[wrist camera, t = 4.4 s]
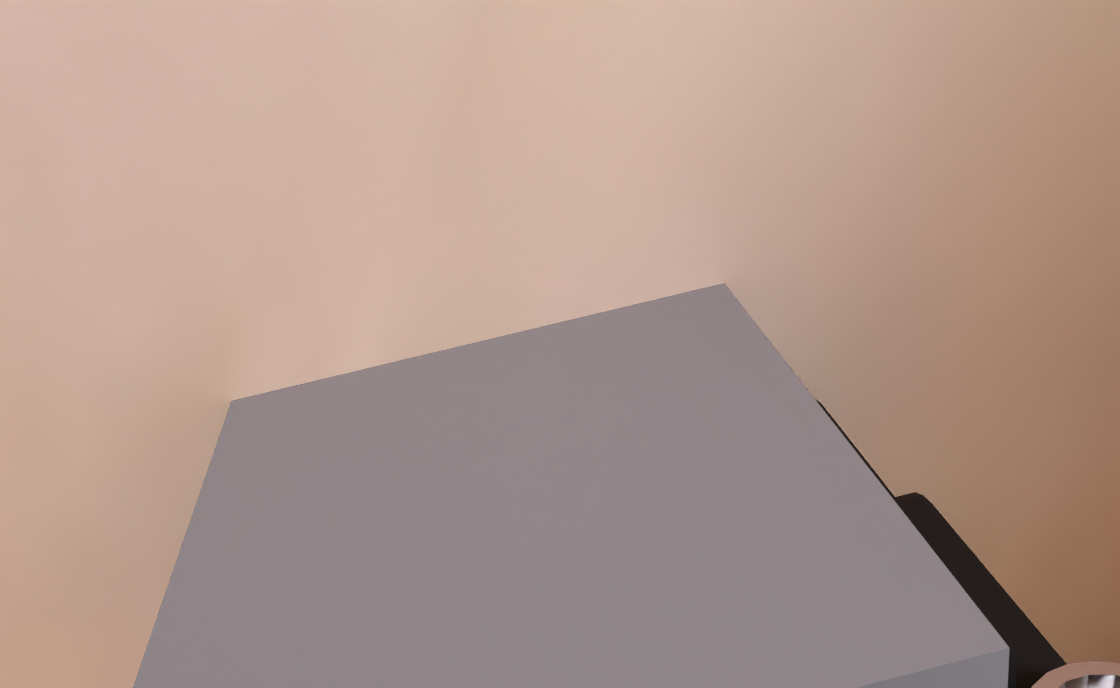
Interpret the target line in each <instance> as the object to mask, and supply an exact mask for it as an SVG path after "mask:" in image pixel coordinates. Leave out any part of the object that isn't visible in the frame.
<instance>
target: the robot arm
mask: <svg viewBox="0 0 1120 688" xmlns="http://www.w3.org/2000/svg"><path fill="white" fill-rule="evenodd" d="M816 401H817V402H818V404H819V405H820V406H821V407H822V409H823V410H824V411H825V413H826V414H827V415H828V416H829V418H830V419H831V420H832V422H833V423H834V424H835V425H836V427H837V428H838V429H839V430H840V432H841V433H842V434H843V436H844V437H845V438H846V439H847V441H848V442H849V443H850V445H851V446H852V447H853V448H854V450H855V451H856V452H857V453H858V455H859V456H860V457H861V459H862V460H863V461H864V462H865V464H866V465H867V466H868V468H869V469H870V470H871V471H872V473H873V474H874V475H875V477H876V478H877V479H878V480H879V482H880V483H881V484H882V485H883V487H884V488H885V489H886V491H887V492H888V493H889V494H890V496H891V497H892V498H893V500H894V501H895V502H896V503H897V505H898V506H899V507H900V508H901V510H902V511H903V512H904V514H905V515H906V516H907V517H908V519H909V520H910V521H911V523H912V524H913V525H914V526H915V528H916V529H917V530H918V531H919V533H920V534H921V535H922V537H923V538H924V539H925V540H926V542H927V543H928V544H929V546H930V547H931V548H932V549H933V551H934V552H935V553H936V554H937V556H938V557H939V558H940V560H941V561H942V562H943V563H944V565H945V566H946V567H947V569H948V570H949V571H950V572H951V574H952V575H953V576H954V578H955V579H956V580H957V581H958V583H959V584H960V585H961V586H962V588H963V589H964V590H965V592H966V593H967V594H968V595H969V597H970V598H971V599H972V601H973V602H974V603H975V604H976V606H977V607H978V608H979V609H980V611H981V612H982V613H983V615H984V616H985V617H986V618H987V620H988V621H989V622H990V624H991V625H992V626H993V627H994V629H995V630H996V631H997V632H998V634H999V635H1000V636H1001V638H1002V639H1003V640H1004V641H1005V643H1006V644H1007V645H1008V647H1009V648H1010V649H1009V670H1008V688H1120V663H1114V662H1105V661H1096V660H1095V661H1086V662H1077V663H1069V664H1066V663H1065V662H1064V660H1063V659H1062V658H1061V657H1060V656H1059V655H1058V653H1057V652H1056V651H1055V650H1054V649H1053V647H1052V646H1051V645H1050V644H1049V643H1048V641H1047V640H1046V639H1045V638H1044V637H1043V635H1042V634H1041V633H1040V632H1039V631H1038V629H1037V628H1036V627H1035V626H1034V625H1033V624H1032V622H1031V621H1030V620H1029V619H1028V618H1027V616H1026V615H1025V614H1024V613H1023V612H1022V610H1021V609H1020V608H1019V607H1018V606H1017V604H1016V603H1015V602H1014V601H1013V600H1012V599H1011V597H1010V596H1009V595H1008V594H1007V593H1006V591H1005V590H1004V589H1003V588H1002V587H1001V585H1000V584H999V583H998V582H997V581H996V579H995V578H994V577H993V576H992V575H991V573H990V572H989V571H988V570H987V569H986V568H985V566H984V565H983V564H982V563H981V562H980V560H979V559H978V558H977V557H976V556H975V554H974V553H973V552H972V551H971V550H970V548H969V547H968V546H967V545H966V544H965V543H964V541H963V540H962V539H961V538H960V537H959V535H958V534H957V533H956V532H955V531H954V529H953V528H952V527H951V526H950V525H949V523H948V522H947V521H946V520H945V519H944V517H943V516H942V515H941V514H940V513H939V512H938V510H937V509H936V508H935V507H934V506H933V504H932V503H931V502H930V501H929V500H927V499H926V498H925V497H924V496H923V495H921V494H918V493H916V492H915V493H911V494H907V495H903V496H899V497H894V495H893V494H892V493H891V492H890V490H889V489H888V488H887V486H886V485H885V484H884V483H883V481H882V480H881V479H880V478H879V476H878V475H877V474H876V472H875V471H874V470H873V469H872V467H871V466H870V465H869V464H868V462H867V461H866V460H865V459H864V457H863V456H862V455H861V453H860V452H859V451H858V450H857V448H856V447H855V446H854V445H853V443H852V442H851V441H850V439H849V438H848V437H847V436H846V434H845V433H844V432H843V431H842V429H841V428H840V427H839V426H838V424H837V423H836V422H835V420H834V419H833V418H832V417H831V415H830V414H829V413H828V412H827V410H826V409H825V408H824V406H823V405H822V404H821V403H820V402H819V401H818V400H816Z"/></svg>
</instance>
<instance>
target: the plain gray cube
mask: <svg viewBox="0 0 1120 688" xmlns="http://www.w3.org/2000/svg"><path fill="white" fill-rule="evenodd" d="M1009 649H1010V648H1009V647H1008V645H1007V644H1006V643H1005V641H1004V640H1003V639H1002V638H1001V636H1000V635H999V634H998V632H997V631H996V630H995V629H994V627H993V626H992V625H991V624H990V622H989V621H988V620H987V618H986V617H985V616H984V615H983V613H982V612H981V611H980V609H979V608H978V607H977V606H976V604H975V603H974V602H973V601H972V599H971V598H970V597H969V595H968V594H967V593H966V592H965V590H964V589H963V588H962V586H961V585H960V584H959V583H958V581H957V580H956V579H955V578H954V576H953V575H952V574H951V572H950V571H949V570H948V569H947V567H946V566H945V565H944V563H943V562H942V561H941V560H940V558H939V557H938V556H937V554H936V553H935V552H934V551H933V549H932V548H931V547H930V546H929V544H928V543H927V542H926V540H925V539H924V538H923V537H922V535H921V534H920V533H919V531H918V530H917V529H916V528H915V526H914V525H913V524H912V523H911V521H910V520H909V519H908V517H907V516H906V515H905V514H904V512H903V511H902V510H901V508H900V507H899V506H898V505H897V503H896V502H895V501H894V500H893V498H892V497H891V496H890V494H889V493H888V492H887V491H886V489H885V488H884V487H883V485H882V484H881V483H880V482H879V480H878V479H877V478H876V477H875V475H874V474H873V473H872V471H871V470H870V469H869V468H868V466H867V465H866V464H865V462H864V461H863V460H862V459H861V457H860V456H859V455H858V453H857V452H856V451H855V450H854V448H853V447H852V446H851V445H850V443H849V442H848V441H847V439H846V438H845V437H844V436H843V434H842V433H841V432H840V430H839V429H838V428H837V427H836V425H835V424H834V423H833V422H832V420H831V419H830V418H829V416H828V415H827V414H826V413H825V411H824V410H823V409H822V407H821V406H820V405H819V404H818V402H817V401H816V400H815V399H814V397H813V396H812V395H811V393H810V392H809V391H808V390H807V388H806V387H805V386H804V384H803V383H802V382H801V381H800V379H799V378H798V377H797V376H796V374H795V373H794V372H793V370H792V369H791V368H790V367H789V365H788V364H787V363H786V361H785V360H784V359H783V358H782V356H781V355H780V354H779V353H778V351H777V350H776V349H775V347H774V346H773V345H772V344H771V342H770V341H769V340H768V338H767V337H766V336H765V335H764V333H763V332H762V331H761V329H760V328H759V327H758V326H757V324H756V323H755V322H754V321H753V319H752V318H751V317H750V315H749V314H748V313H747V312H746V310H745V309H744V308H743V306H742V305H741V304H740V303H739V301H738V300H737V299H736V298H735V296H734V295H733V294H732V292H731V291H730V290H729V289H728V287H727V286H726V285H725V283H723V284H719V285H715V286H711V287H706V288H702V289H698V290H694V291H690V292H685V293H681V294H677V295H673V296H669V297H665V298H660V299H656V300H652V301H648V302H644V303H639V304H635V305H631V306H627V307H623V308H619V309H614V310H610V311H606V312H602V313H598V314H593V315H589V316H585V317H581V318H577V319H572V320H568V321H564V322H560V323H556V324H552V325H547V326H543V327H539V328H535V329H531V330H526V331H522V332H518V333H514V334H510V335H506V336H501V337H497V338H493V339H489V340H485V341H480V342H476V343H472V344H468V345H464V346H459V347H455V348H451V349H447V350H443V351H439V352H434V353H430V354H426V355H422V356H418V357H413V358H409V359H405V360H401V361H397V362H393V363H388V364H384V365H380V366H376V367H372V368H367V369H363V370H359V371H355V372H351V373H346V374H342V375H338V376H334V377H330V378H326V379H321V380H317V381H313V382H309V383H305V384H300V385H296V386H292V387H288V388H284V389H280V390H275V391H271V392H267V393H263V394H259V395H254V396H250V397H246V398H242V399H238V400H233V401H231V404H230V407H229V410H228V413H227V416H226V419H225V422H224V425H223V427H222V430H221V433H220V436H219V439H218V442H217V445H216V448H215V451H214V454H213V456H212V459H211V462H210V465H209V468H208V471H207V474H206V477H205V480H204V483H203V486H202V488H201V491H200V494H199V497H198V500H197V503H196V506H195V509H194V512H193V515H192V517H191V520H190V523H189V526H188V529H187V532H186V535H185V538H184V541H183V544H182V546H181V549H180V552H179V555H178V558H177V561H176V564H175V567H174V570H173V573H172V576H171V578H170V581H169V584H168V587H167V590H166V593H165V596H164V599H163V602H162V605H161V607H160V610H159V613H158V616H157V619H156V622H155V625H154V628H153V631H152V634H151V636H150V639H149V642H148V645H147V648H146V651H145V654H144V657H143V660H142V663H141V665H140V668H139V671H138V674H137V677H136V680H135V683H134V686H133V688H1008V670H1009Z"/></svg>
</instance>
